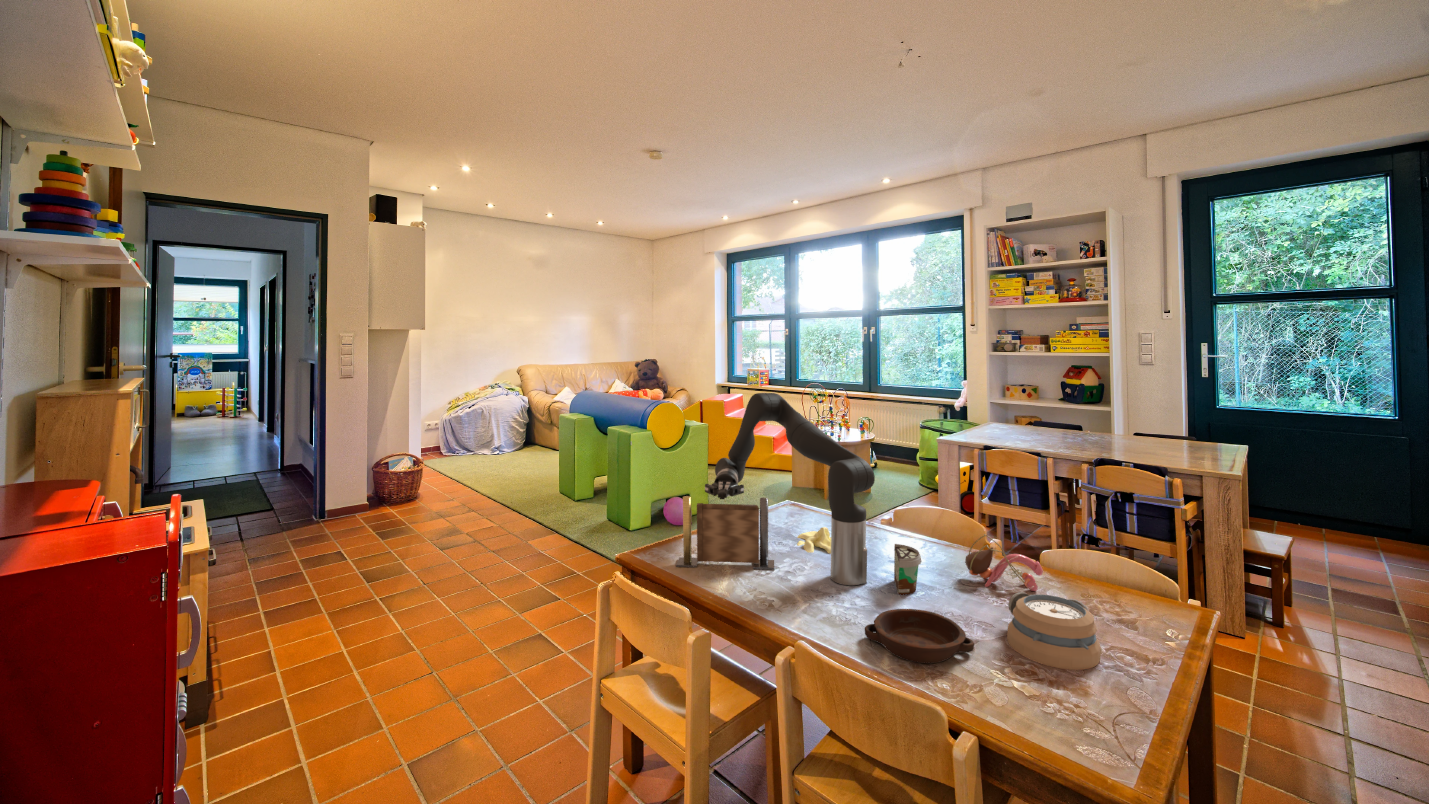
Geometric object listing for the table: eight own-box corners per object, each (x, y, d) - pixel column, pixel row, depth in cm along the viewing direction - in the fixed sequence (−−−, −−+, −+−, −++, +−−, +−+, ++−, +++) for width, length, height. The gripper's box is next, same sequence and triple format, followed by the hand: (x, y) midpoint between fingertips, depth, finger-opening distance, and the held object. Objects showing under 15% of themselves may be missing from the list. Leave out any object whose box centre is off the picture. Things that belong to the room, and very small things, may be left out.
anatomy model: (1056, 585, 144) (1008, 532, 147) (1004, 617, 149) (958, 565, 152) (1048, 568, 155) (1003, 519, 158) (999, 598, 160) (957, 550, 163)
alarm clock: (1012, 617, 116) (1003, 574, 138) (1010, 660, 117) (1001, 611, 139) (1112, 632, 110) (1086, 585, 131) (1110, 678, 111) (1084, 624, 132)
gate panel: (758, 560, 169) (758, 503, 167) (758, 563, 167) (758, 505, 166) (698, 559, 171) (697, 502, 169) (697, 561, 169) (696, 504, 167)
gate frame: (774, 561, 171) (774, 496, 169) (774, 569, 165) (774, 501, 163) (679, 559, 174) (678, 494, 172) (676, 566, 168) (675, 499, 166)
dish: (980, 679, 111) (981, 654, 111) (863, 662, 117) (863, 639, 117) (967, 635, 128) (968, 613, 127) (865, 622, 134) (865, 602, 133)
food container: (924, 599, 145) (925, 561, 144) (898, 597, 146) (899, 559, 145) (917, 580, 157) (918, 544, 156) (893, 578, 158) (894, 543, 157)
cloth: (802, 532, 199) (802, 515, 199) (856, 539, 192) (856, 521, 191) (782, 553, 179) (782, 534, 179) (841, 562, 171) (842, 542, 171)
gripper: (706, 470, 190) (700, 483, 173) (746, 471, 189) (744, 484, 171) (706, 492, 191) (700, 507, 174) (746, 493, 189) (744, 508, 172)
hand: (722, 496), depth 173 cm, fingers closed
